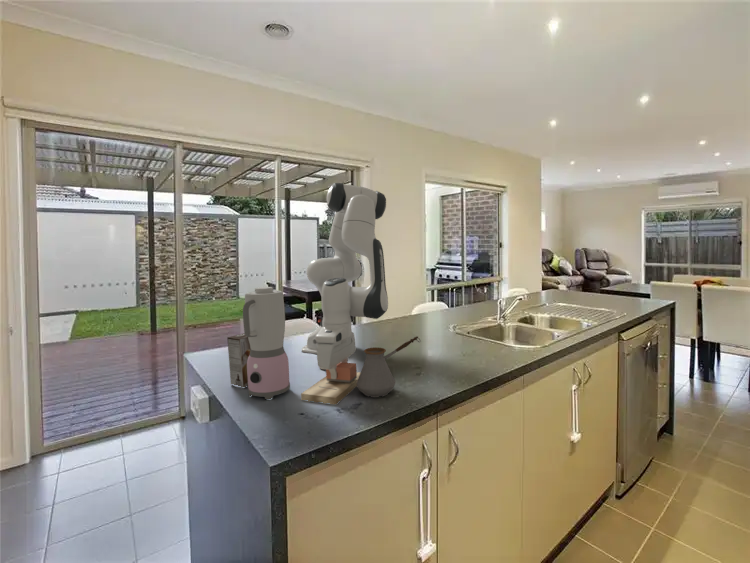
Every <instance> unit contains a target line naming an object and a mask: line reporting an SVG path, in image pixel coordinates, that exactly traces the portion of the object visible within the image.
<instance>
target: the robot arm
mask: <svg viewBox="0 0 750 563" xmlns="http://www.w3.org/2000/svg"><path fill="white" fill-rule="evenodd" d="M326 203H327V205H326V206H327V207H328V209H329V210H330V211H332V212H334V213H335V214H334V217H333V220H332V224H331V228H330V233H329V236H328V243H329V245H330V247H331V248H332V249H333V250H334V255H333V257H322V258H321V257H320V258H317V259H314V260H312V261H310V262H309V263H308V265H307V267H306V276H307V278H308V281H309V282H310V283H311V284H312V285H314V286H315V288H317V290H318V292H319V294H320V296H321V311H322V314H323V315H322V316H323V317H321V318H320V319H318V321H317V322H318V323H319V326H318V327H317V328H316V329H315V330H313V331H312V332H311V333H310V334H309V335H308V337H307V339H306V345H304V346H302V348H301V352H302V353H307V354H308V353H309V354H313V355H314V354H315V355H316V358H317V359H316V360H317V366H318V368H319V369H320V370H322V369H326V370H329V371H330V373H331V379H336V378H338V372H337V371H336V368H337V364H339V363H340V362H343V363H349V357H351V356H352V355H354V354H355V353H356V349H357V348H356V339H355V333H354V332H353V330H352V317H359V318H368V319H374V320H378V319H379V318H381V317H382V316H384V314H386V312H387V310H388V309H389V297H388V293H387V287H386V286H387V285H386V271H385V257H384V256H385V255H384V248H383V246H382V243H381V241H380V240H379V239H377V238H376V237H377V236H376V233H375V227H376V220H379V219H381V218H382V217H383V216H384V213H385V211H386V208H387V198H386V195H385V194H384V193H382V192H380V191H378V190H373V189H370V188H367V187H363V186H361V185H360V186H359V185H352V184H344V183H343V182H334V183H332V184H331V186H330V187H329V189H328V190H327V193H326ZM356 253H357V254H359V255H361V256H364V257H366V258H367V259H368V262H369V264H368V265H369V277H370V278H369V279H370V281H369V282H370V284H369V285H368V286H352V285H349V283H351V282H354V281H356V280H358V279H359V278H360V276H361V274H362V269H363V268H362V265H361V263H360V261H359V260H358V258H357V256H356V255H357V254H356ZM326 370H325V371H326Z"/></svg>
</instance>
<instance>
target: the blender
mask: <svg viewBox="0 0 750 563" xmlns="http://www.w3.org/2000/svg"><path fill="white" fill-rule="evenodd" d="M285 311H286V310H285V302H284V292H283V291H281V290H278V289H277V290H274V288H273V286H260V287H259V286H258V287H255V288H254V291H250V292H249V291H248V292H246V293H245V294H244V305H243V307H242V320H243V321H242V322H243V331H244V333H245V335H246V336H247V337H248V339H249V343H250V348H251V351H250V355H249V357H248V360H247V376H248V387H247V390H248V397H249V396H251V395H252V397H253V396H254V397H264V400H265V399H271V398H273V399H274V396H278V395H280V394H284V393H286V392H288V391H289V390H290V389H291V383H290V365H289V357H288V355H287V353H286V351H285V348H284V339H285V332H286V330H285V329H286V312H285Z"/></svg>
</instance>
